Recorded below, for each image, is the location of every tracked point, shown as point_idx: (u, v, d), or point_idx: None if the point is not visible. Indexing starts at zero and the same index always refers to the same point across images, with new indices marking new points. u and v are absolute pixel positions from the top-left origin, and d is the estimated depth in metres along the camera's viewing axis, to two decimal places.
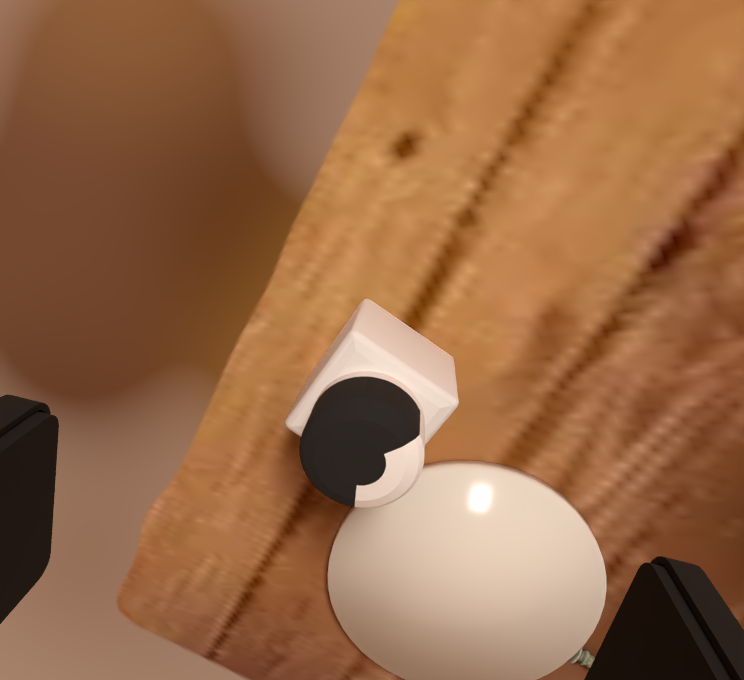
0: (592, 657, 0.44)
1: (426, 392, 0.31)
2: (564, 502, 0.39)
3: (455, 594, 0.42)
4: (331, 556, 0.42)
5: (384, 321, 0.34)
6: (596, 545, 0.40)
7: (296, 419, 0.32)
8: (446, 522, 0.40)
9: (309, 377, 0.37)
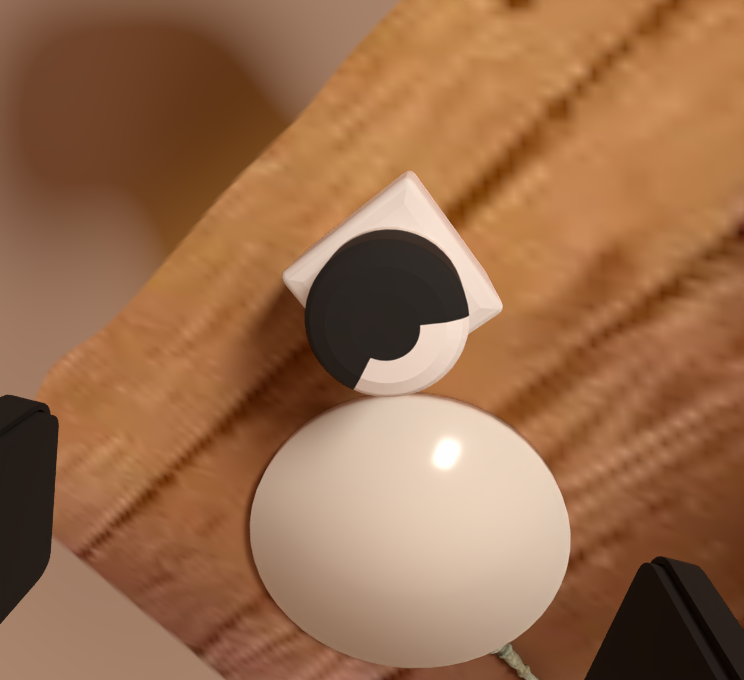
0: (514, 652, 0.39)
1: (470, 284, 0.24)
2: (551, 475, 0.34)
3: (395, 549, 0.36)
4: (268, 470, 0.35)
5: (430, 197, 0.28)
6: (568, 532, 0.35)
7: (299, 272, 0.25)
8: (414, 464, 0.34)
9: (315, 243, 0.30)
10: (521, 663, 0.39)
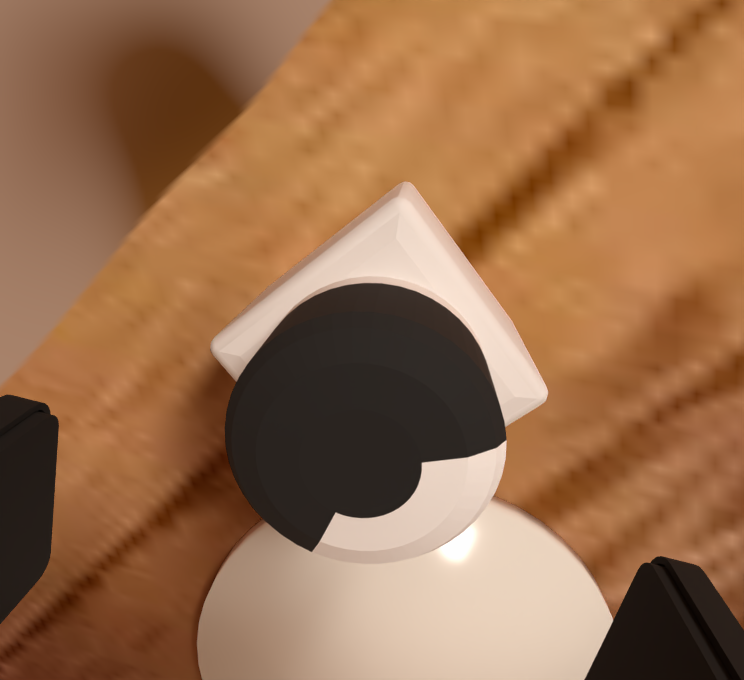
0: None
1: (500, 361, 0.16)
2: (598, 590, 0.25)
3: (388, 678, 0.28)
4: (218, 578, 0.26)
5: (435, 221, 0.19)
6: None
7: (234, 341, 0.16)
8: (412, 573, 0.25)
9: (272, 284, 0.21)
10: None
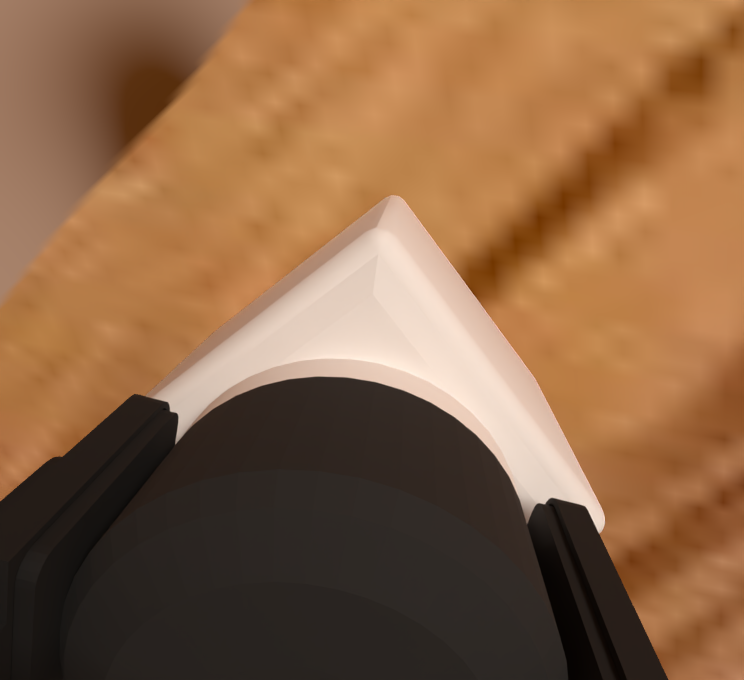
0: None
1: (535, 477, 0.10)
2: None
3: None
4: None
5: (434, 252, 0.14)
6: None
7: None
8: None
9: (213, 335, 0.15)
10: None
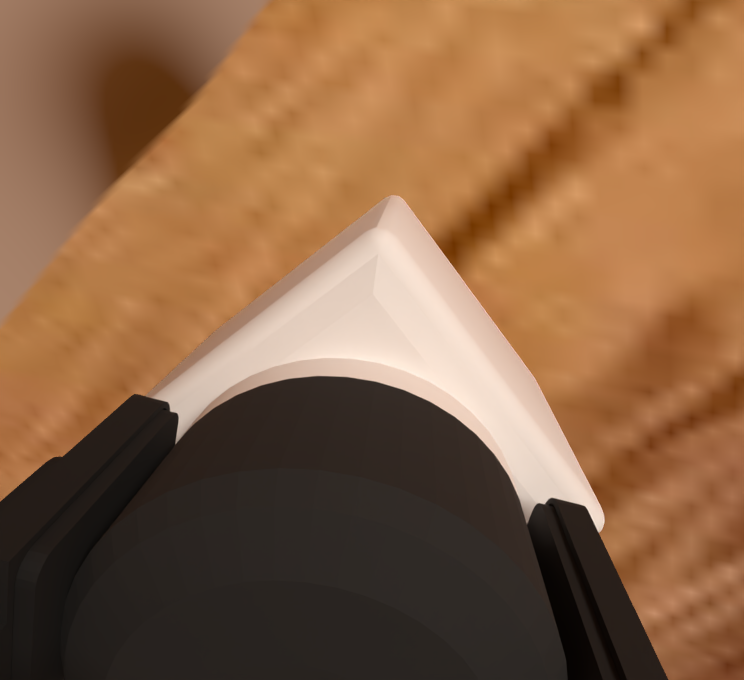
0: None
1: (535, 477, 0.10)
2: None
3: None
4: None
5: (434, 252, 0.14)
6: None
7: None
8: None
9: (213, 335, 0.15)
10: None
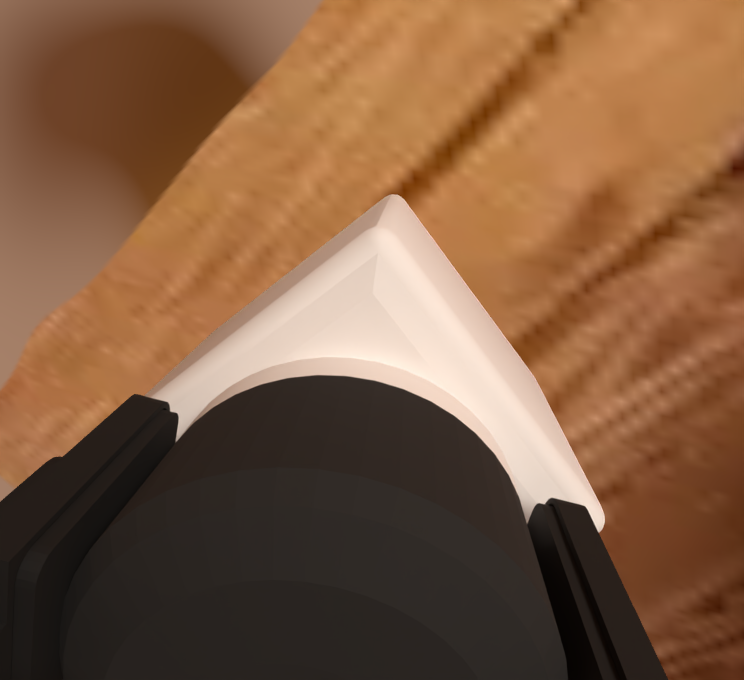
0: None
1: (535, 476, 0.10)
2: None
3: None
4: None
5: (434, 251, 0.14)
6: None
7: None
8: None
9: (213, 334, 0.15)
10: None
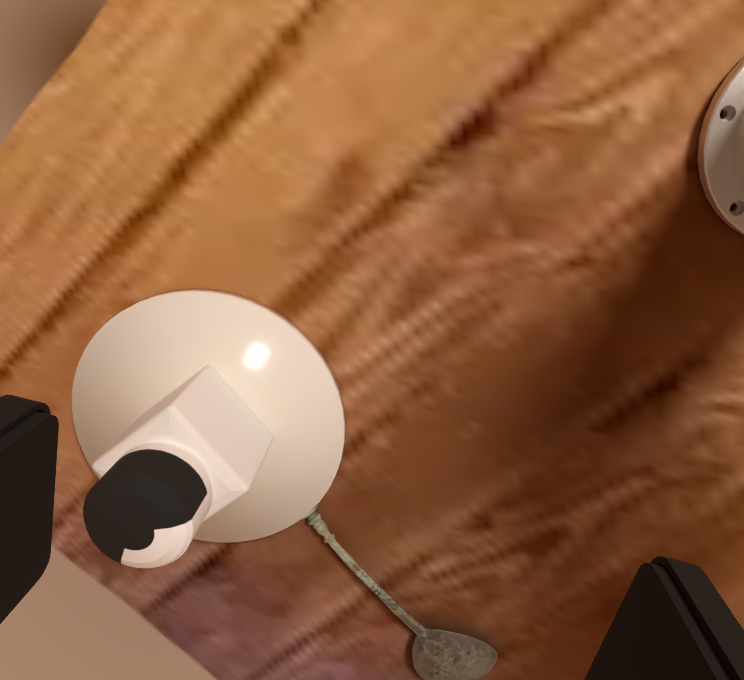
0: (321, 521, 0.44)
1: (222, 475, 0.34)
2: (320, 359, 0.40)
3: None
4: (81, 359, 0.41)
5: (214, 394, 0.38)
6: (340, 411, 0.41)
7: (102, 464, 0.35)
8: (203, 351, 0.40)
9: (138, 419, 0.40)
10: (327, 530, 0.44)
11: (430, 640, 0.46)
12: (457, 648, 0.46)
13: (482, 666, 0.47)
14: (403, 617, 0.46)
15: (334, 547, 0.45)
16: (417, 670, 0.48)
